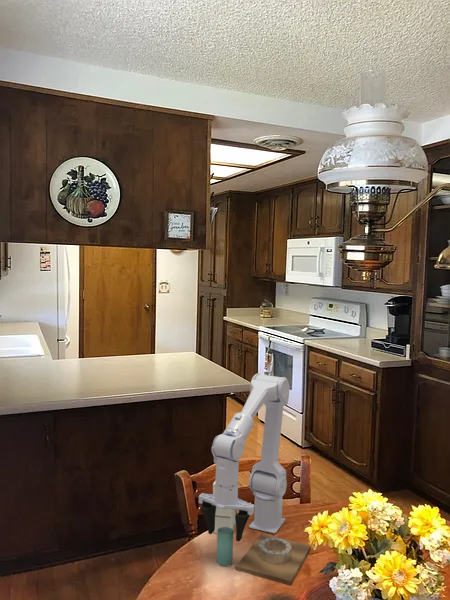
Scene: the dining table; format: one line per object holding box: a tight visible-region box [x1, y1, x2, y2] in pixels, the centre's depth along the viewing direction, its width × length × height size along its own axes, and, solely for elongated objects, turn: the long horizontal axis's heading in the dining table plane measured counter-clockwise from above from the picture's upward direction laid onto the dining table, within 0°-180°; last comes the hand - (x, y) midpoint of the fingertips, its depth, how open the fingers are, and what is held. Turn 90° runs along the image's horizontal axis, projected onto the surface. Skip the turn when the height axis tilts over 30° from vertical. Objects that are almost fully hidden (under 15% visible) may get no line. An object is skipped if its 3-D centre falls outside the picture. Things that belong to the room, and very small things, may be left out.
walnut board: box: [235, 533, 312, 586], centre depth 132 cm, size 18×14×1 cm
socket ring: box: [259, 537, 292, 564], centre depth 132 cm, size 8×8×2 cm
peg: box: [216, 527, 234, 567], centre depth 130 cm, size 4×4×8 cm
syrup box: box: [212, 480, 237, 534], centre depth 146 cm, size 6×6×14 cm
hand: (225, 536), depth 130 cm, fingers open, 7 cm apart
